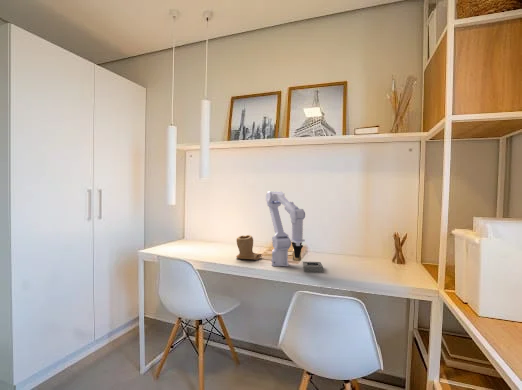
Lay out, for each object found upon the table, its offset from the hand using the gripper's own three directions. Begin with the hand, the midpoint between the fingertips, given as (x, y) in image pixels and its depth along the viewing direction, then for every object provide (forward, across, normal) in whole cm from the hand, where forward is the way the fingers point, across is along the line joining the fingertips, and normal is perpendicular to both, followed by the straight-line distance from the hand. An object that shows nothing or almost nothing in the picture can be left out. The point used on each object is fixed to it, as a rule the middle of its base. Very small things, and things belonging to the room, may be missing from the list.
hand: (296, 256), depth 152 cm
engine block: (+8, +4, -9) cm, 13 cm away
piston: (+2, 0, 0) cm, 2 cm away
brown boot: (+8, +24, +29) cm, 38 cm away
